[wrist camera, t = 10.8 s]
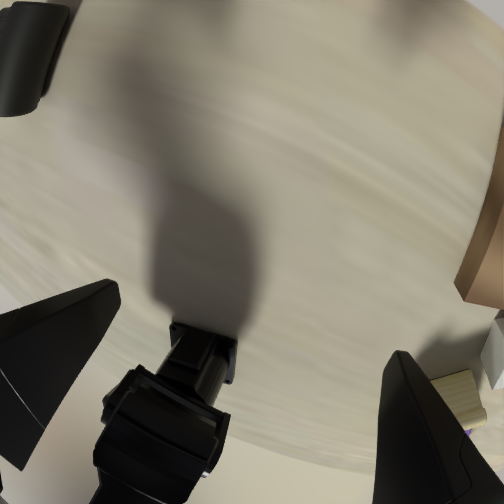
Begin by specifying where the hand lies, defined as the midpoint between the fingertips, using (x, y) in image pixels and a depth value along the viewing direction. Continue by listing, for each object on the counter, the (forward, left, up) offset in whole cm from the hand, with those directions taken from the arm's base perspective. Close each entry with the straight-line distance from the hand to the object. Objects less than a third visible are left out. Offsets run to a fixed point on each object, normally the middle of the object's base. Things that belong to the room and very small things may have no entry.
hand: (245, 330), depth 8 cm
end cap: (+12, +24, -12) cm, 30 cm away
